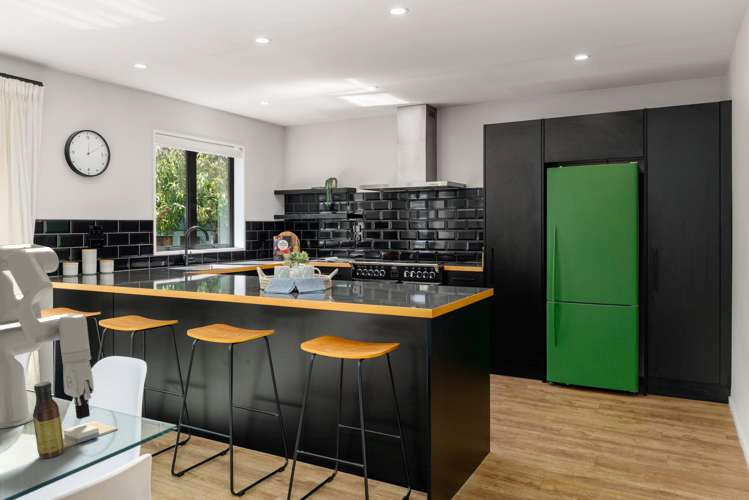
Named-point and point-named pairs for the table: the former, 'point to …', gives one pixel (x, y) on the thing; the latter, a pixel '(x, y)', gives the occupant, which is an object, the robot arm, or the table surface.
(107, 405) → the table surface
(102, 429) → the mat
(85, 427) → the tile
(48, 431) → the sauce bottle
